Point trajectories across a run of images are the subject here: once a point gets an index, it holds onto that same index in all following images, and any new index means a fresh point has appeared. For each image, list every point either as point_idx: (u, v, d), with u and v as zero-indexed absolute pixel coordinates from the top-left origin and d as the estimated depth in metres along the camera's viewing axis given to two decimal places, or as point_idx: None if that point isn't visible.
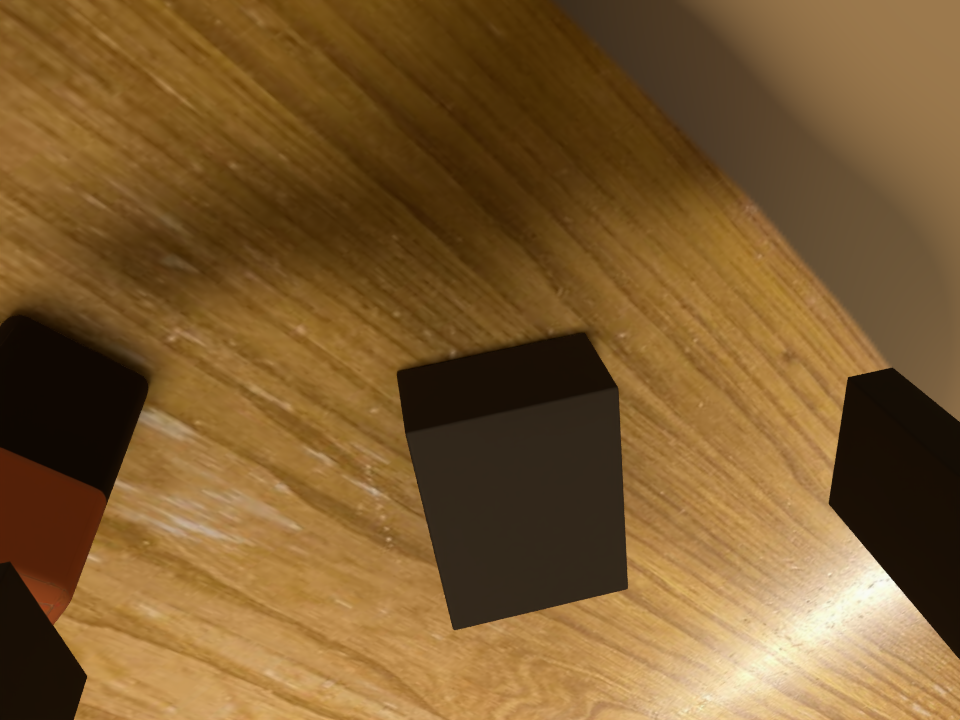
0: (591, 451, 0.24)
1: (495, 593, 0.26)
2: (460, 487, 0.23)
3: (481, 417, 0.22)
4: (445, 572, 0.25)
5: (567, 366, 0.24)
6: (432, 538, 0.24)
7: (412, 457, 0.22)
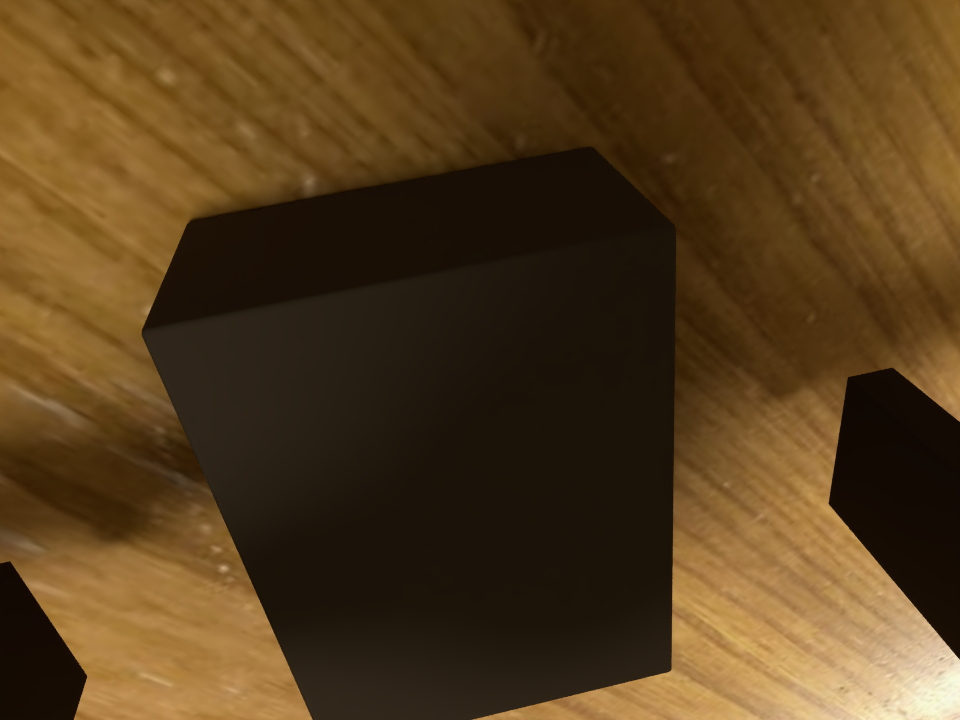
0: (607, 389, 0.10)
1: (406, 687, 0.13)
2: (303, 470, 0.10)
3: (334, 293, 0.09)
4: (293, 650, 0.12)
5: (553, 196, 0.10)
6: (253, 582, 0.11)
7: (170, 395, 0.09)
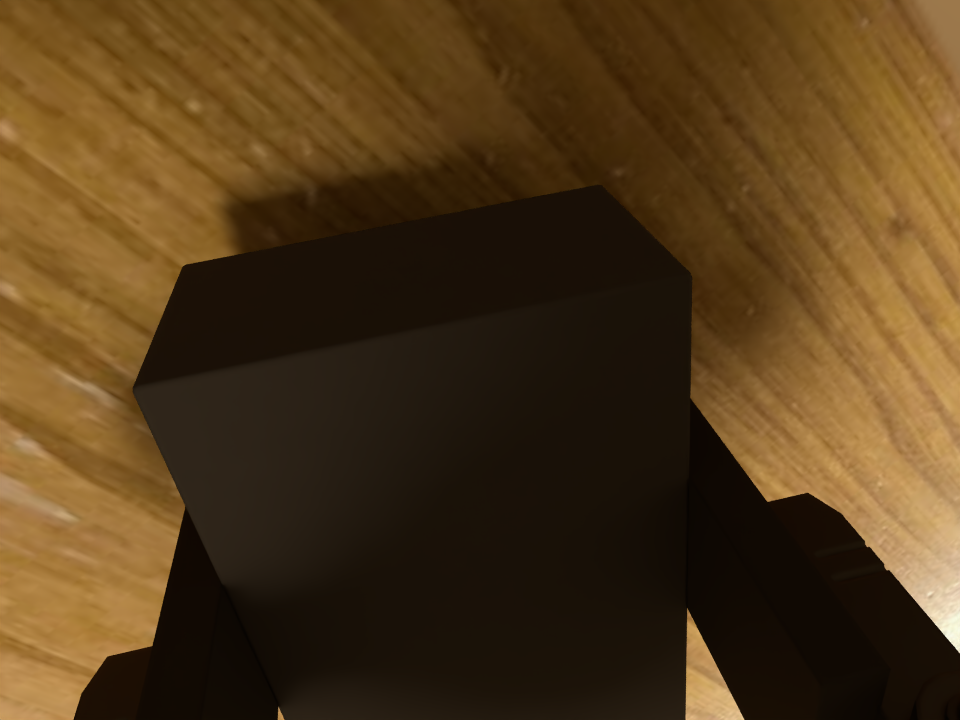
0: (620, 441, 0.10)
1: None
2: (302, 527, 0.10)
3: (335, 345, 0.08)
4: (292, 710, 0.11)
5: (561, 240, 0.10)
6: (250, 642, 0.10)
7: (162, 453, 0.09)
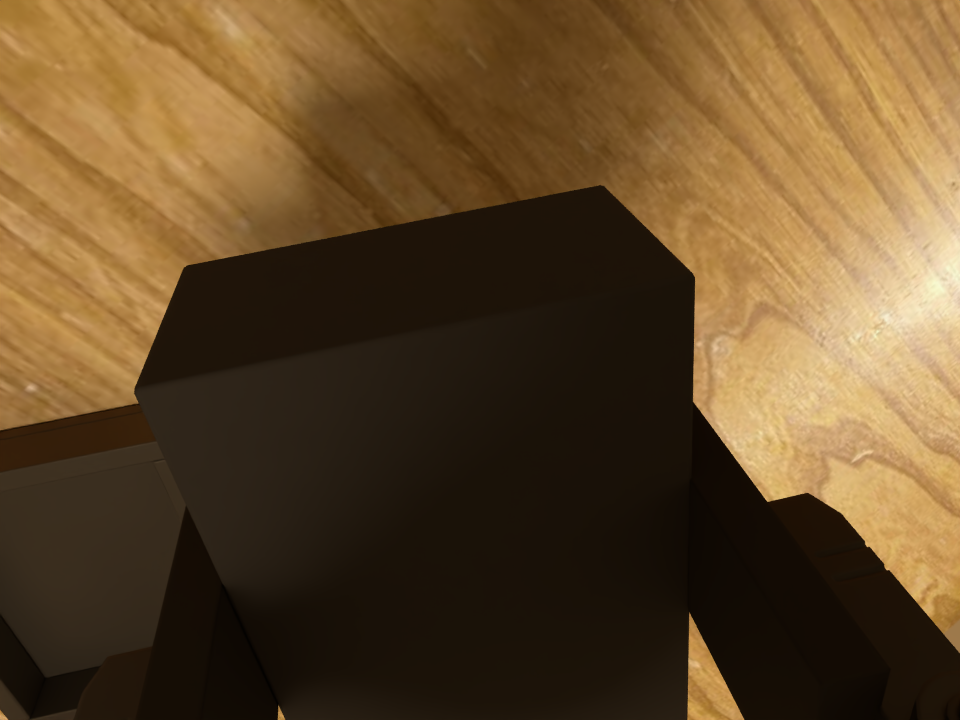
0: (623, 442, 0.10)
1: None
2: (304, 529, 0.10)
3: (338, 347, 0.08)
4: (293, 711, 0.11)
5: (564, 240, 0.10)
6: (252, 644, 0.10)
7: (164, 455, 0.09)
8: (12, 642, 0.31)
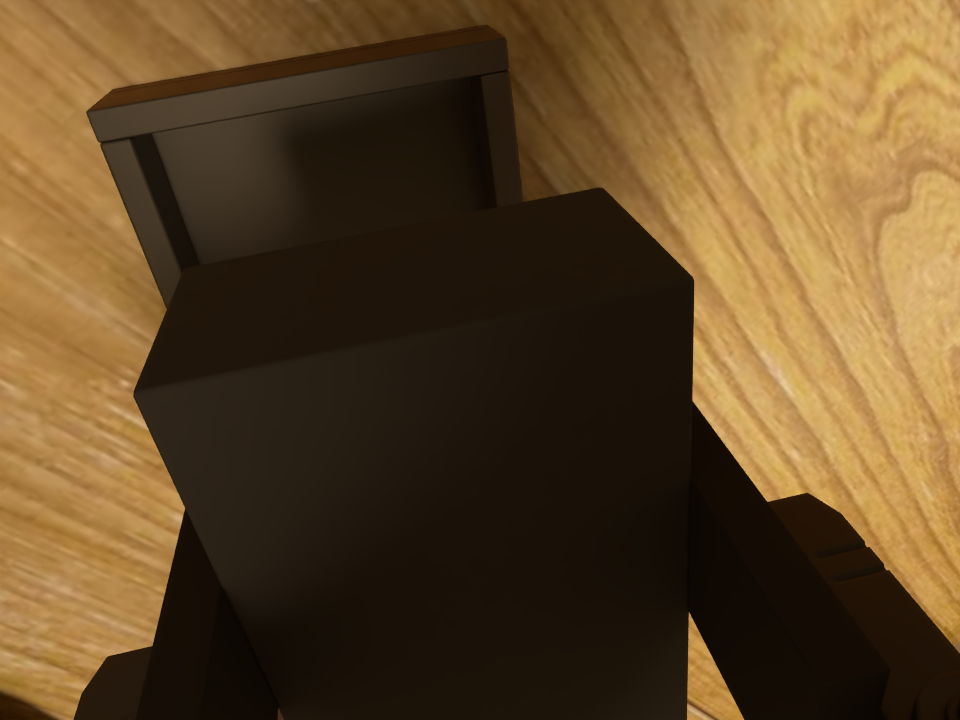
0: (622, 444, 0.10)
1: None
2: (303, 531, 0.10)
3: (337, 351, 0.08)
4: (293, 713, 0.11)
5: (563, 243, 0.10)
6: (251, 646, 0.10)
7: (163, 457, 0.09)
8: None
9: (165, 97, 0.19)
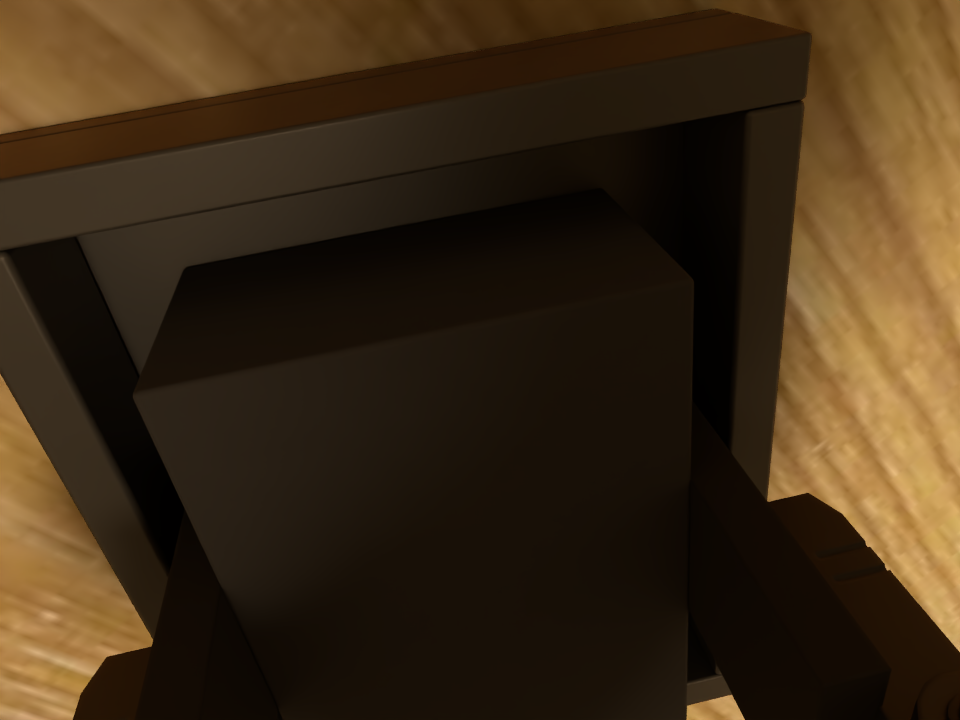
0: (622, 446, 0.10)
1: None
2: (303, 532, 0.10)
3: (337, 352, 0.08)
4: (293, 714, 0.11)
5: (563, 244, 0.10)
6: (251, 647, 0.10)
7: (162, 458, 0.09)
8: None
9: (78, 165, 0.08)
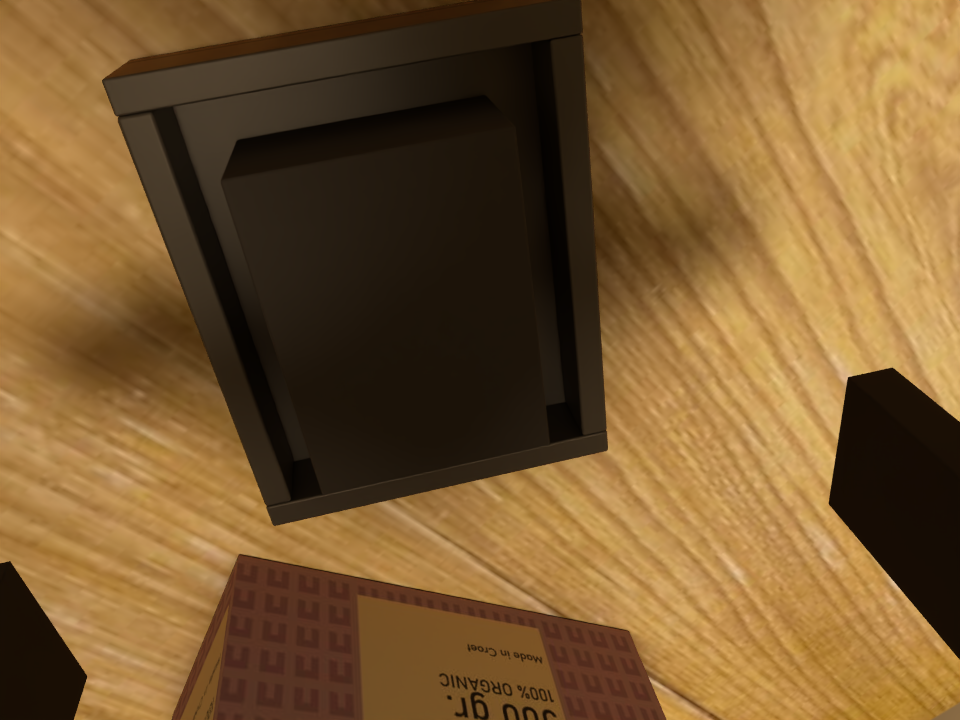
0: (485, 228, 0.18)
1: (373, 442, 0.20)
2: (308, 273, 0.17)
3: (326, 160, 0.16)
4: (301, 406, 0.19)
5: (453, 117, 0.18)
6: (277, 352, 0.18)
7: (234, 220, 0.16)
8: (268, 393, 0.22)
9: (193, 63, 0.16)
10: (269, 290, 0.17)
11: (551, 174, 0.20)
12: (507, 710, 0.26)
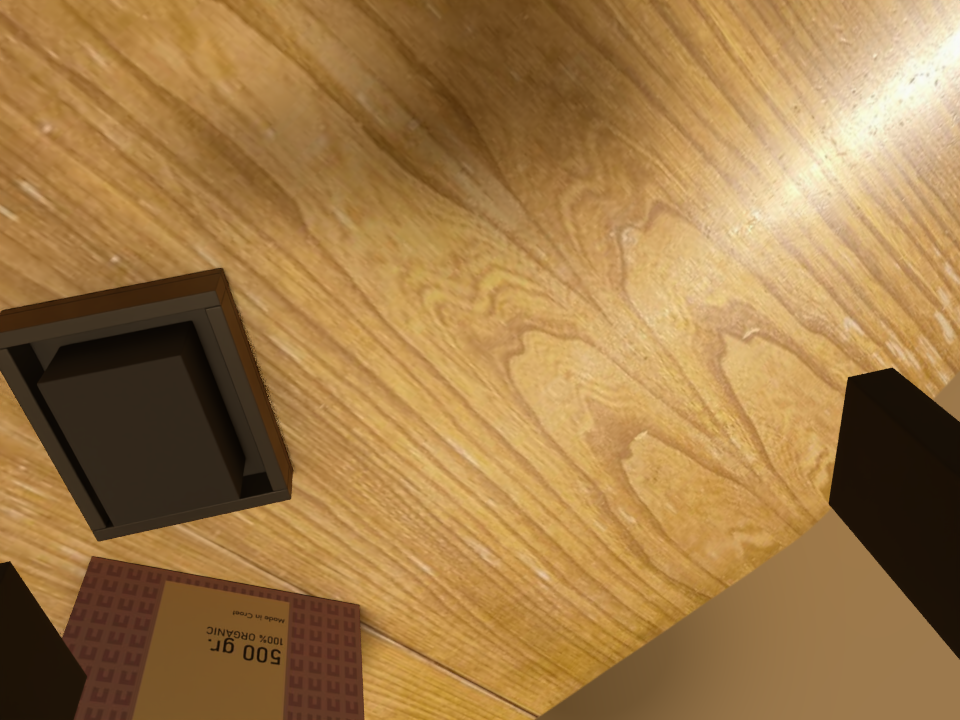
0: (176, 398, 0.35)
1: (137, 499, 0.38)
2: (87, 422, 0.35)
3: (87, 373, 0.34)
4: (94, 482, 0.37)
5: (162, 342, 0.36)
6: (77, 457, 0.36)
7: (45, 400, 0.34)
8: None
9: (24, 327, 0.34)
10: (68, 429, 0.35)
11: None
12: (246, 648, 0.44)
